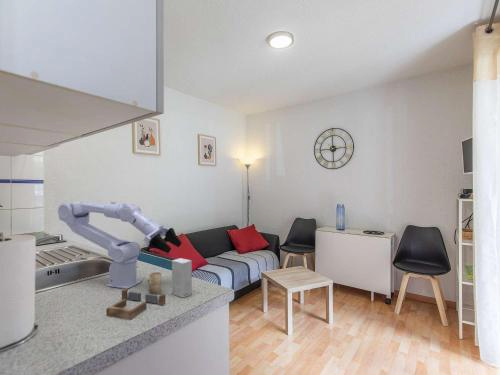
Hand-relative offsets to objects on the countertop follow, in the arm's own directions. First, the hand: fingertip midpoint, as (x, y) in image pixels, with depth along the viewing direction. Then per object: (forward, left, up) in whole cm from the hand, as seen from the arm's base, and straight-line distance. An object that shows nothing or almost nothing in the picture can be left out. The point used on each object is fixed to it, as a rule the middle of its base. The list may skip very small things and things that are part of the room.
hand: (175, 247), depth 98 cm
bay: (-4, -19, -15) cm, 25 cm away
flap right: (-1, -12, -15) cm, 20 cm away
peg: (-4, -6, -15) cm, 17 cm away
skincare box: (+5, -3, -16) cm, 17 cm away
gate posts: (-4, -12, -15) cm, 20 cm away
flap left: (-8, -12, -15) cm, 21 cm away
